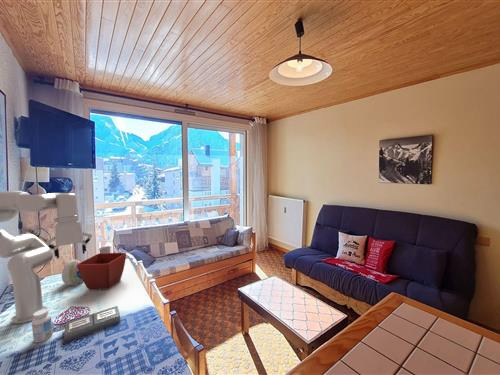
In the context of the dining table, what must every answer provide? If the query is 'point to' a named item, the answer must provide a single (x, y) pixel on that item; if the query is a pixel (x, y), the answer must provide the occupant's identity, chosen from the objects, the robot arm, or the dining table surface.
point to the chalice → (104, 249)
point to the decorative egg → (71, 273)
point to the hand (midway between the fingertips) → (71, 255)
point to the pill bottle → (42, 325)
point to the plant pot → (102, 270)
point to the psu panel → (91, 323)
